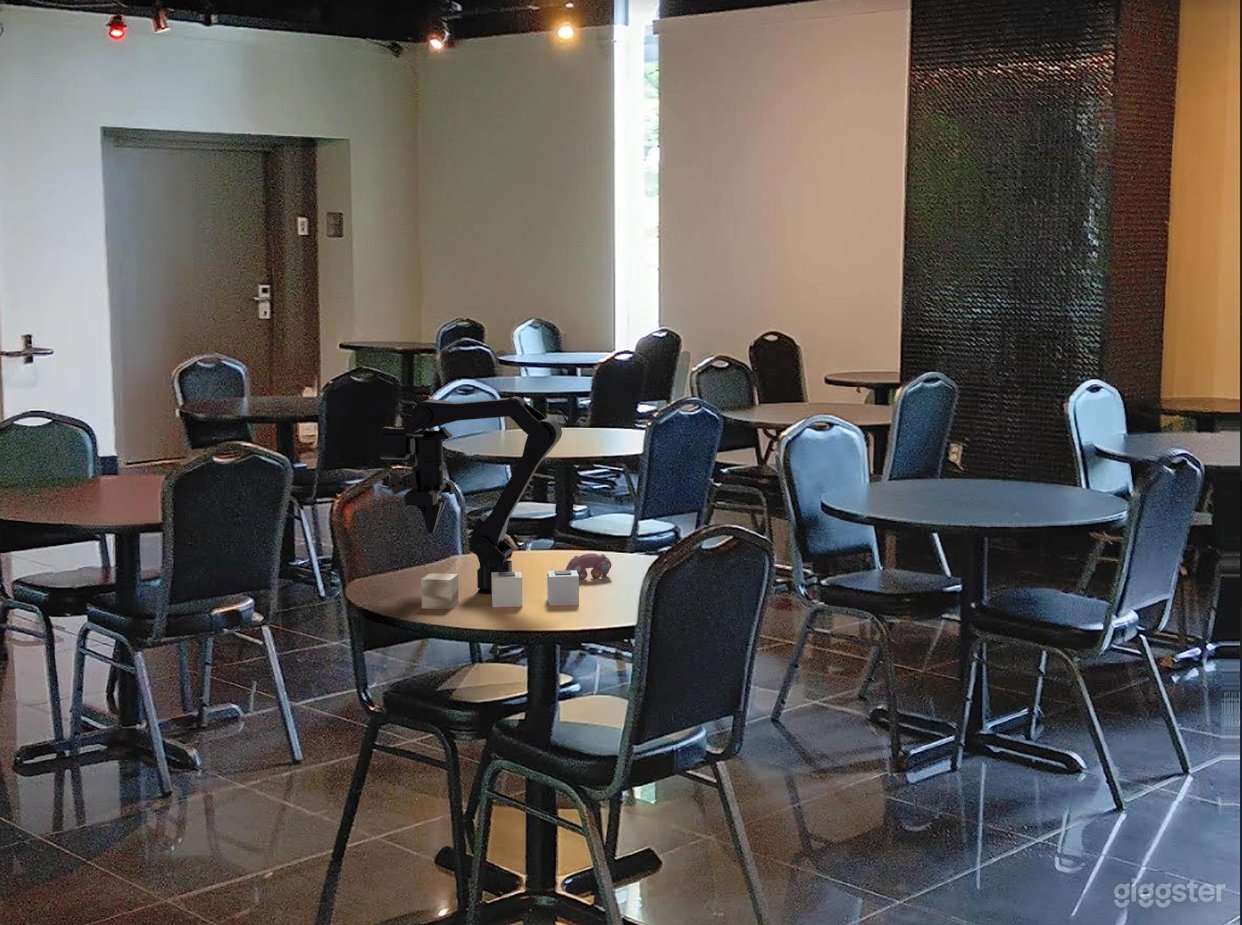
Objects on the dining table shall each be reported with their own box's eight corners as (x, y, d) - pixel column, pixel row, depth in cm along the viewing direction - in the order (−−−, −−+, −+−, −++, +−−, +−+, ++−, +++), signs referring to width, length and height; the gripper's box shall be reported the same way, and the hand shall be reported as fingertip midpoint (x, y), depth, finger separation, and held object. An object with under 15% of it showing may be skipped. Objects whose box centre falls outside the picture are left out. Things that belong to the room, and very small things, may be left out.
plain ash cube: (458, 603, 312) (458, 574, 311) (450, 609, 306) (450, 580, 305) (429, 602, 313) (429, 573, 312) (421, 608, 307) (421, 579, 306)
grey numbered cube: (576, 598, 316) (576, 568, 315) (579, 605, 310) (578, 574, 309) (547, 599, 315) (547, 569, 314) (549, 606, 309) (549, 575, 308)
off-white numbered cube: (521, 600, 314) (520, 570, 314) (522, 606, 308) (522, 576, 308) (491, 601, 314) (491, 570, 313) (492, 607, 308) (492, 576, 307)
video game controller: (567, 587, 334) (571, 561, 330) (562, 574, 337) (566, 549, 333) (611, 584, 337) (615, 559, 333) (605, 572, 340) (609, 546, 336)
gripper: (405, 453, 332) (406, 525, 334) (378, 465, 314) (380, 540, 316) (455, 454, 330) (456, 526, 332) (431, 465, 312) (432, 541, 314)
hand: (430, 533), depth 324 cm, fingers closed
